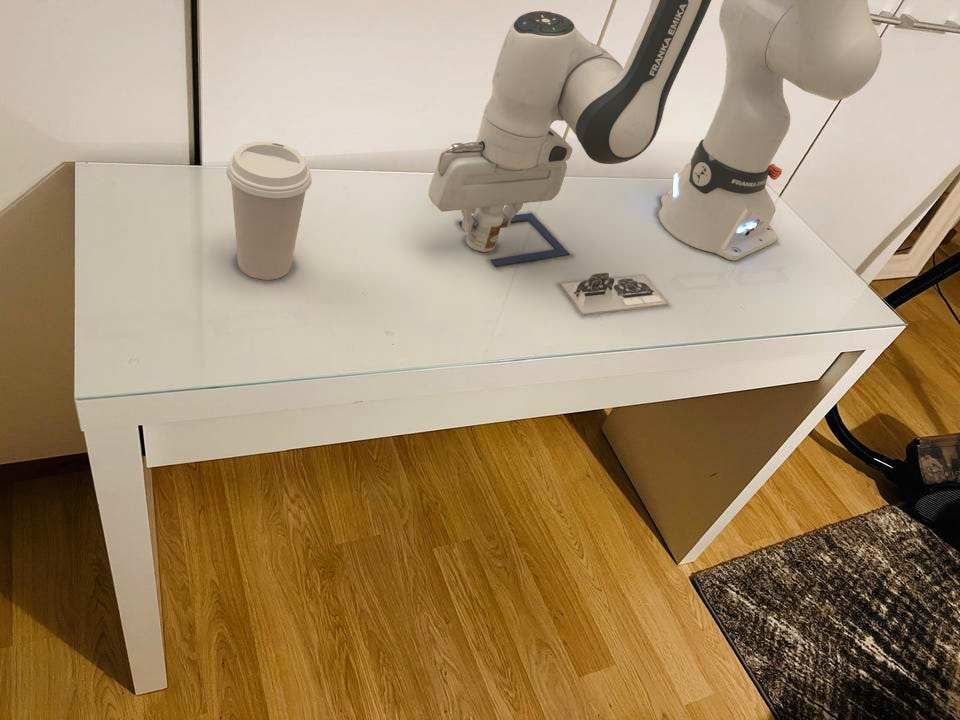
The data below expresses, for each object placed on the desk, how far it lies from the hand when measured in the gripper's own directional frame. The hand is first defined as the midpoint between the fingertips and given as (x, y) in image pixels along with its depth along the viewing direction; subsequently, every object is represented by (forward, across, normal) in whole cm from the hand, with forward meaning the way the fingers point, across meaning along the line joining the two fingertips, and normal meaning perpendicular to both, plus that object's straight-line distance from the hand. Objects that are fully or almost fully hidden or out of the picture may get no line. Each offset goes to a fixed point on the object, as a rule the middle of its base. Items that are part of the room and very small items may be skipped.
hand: (485, 227), depth 110 cm
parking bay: (+3, +5, 0) cm, 6 cm away
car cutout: (+3, +14, -16) cm, 21 cm away
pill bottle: (+3, 0, 0) cm, 3 cm away
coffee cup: (+3, -32, +2) cm, 32 cm away
